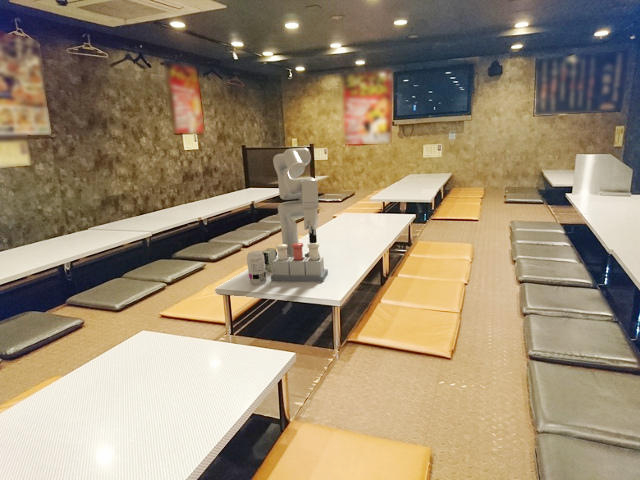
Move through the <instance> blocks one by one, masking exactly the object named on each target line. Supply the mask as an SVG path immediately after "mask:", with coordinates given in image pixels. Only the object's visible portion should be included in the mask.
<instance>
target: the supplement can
mask: <svg viewBox="0 0 640 480" xmlns="http://www.w3.org/2000/svg"><path fill="white" fill-rule="evenodd" d="M246 261H247V263H246V264H247V270H248V271H247V272H248V281H249V284H250V285H253V286H258V285H259V286H261V285H263V284H265V283H266V282H267V274H266V273H267V271H265V265H266V264H265V260H264V254H263V253H262V250H261V251H260V250H256V251H255V250H254V251H250V252H248V253H247V255H246Z"/></svg>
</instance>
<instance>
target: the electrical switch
mask: <svg viewBox="0 0 640 480" xmlns="http://www.w3.org/2000/svg"><path fill="white" fill-rule="evenodd" d="M318 254H319V257H321V255H320V251H318ZM304 257H310V255H309V251H308V252H307V253H304Z"/></svg>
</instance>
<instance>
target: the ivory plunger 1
mask: <svg viewBox="0 0 640 480" xmlns="http://www.w3.org/2000/svg"><path fill="white" fill-rule="evenodd" d="M286 248H288V246H287V244H283V243H280V244H277V245H276V246H275V249H276V250H277V258H278V260H279V261H287V249H286Z"/></svg>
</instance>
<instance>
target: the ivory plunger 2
mask: <svg viewBox="0 0 640 480" xmlns="http://www.w3.org/2000/svg"><path fill="white" fill-rule="evenodd" d="M319 247H320V243H319V242H316V243H310V242H309V243H307V248H308V252H309V255H310V261H319V255H320V253H319V254H318V252H319Z"/></svg>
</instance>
